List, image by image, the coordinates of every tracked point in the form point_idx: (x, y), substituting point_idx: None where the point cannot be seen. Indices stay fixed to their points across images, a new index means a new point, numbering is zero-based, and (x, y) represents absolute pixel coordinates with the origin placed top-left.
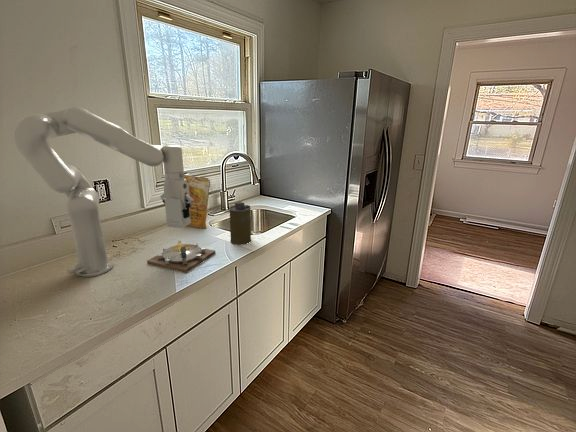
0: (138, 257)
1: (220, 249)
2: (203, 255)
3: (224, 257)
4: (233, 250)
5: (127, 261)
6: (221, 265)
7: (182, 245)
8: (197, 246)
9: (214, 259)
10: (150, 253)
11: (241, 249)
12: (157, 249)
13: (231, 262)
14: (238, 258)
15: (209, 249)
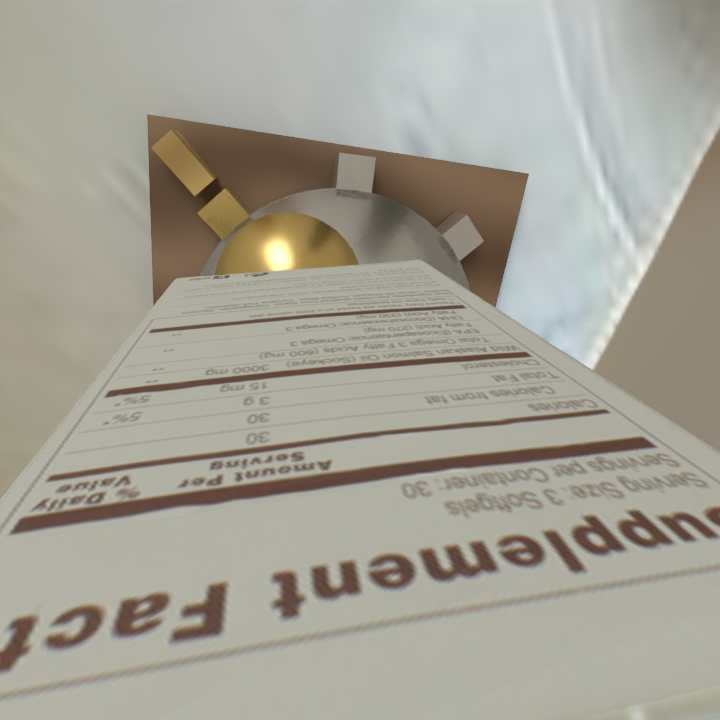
0: (14, 407)
1: (528, 75)
2: (474, 281)
3: (591, 213)
4: (632, 65)
5: (4, 474)
6: (597, 322)
7: (273, 246)
8: (403, 215)
9: (536, 263)
10: (33, 326)
11: (690, 23)
12: (13, 242)
13: (646, 268)
14: (681, 199)
15: (477, 166)
